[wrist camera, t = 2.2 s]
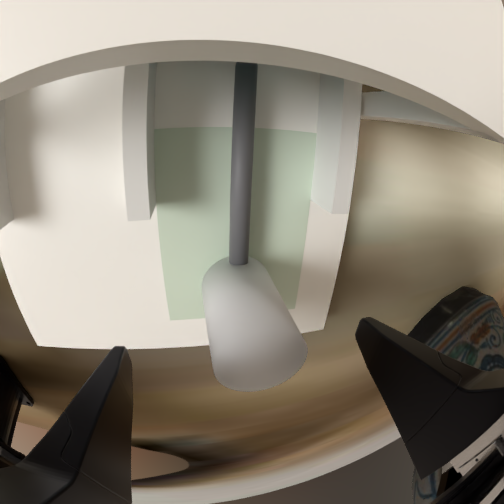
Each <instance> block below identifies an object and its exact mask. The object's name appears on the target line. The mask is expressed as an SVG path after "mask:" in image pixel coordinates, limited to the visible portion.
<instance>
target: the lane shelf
mask: <svg viewBox="0 0 504 504" xmlns="http://www.w3.org/2000/svg"><path fill="white" fill-rule="evenodd" d="M236 62H248V63H257V64H258V71H257V91H256V110H255V130H254V150H253V171H252V192H251V213H250V234H249V256H248V257H252V258H254V259H256V260H258V261H259V262H260V263H262V264H263V266H264V267H265V268H266V270H267V272H268V274H269V275H270V277H271V279H272V281H273V283H274V285H275V286H276V288H277V290H278V292H279V294H280V296H281V298H282V299H283V301H284V303H285V305H286V307H287V309H288V311H289V312H290V314H291V316H292V318H293V320H294V322H295V323H296V325H297V327H298V329H299V331H300V333H305V332H311V331H317V330H322V329H324V325H325V321H326V318H327V314H328V310H329V306H330V302H331V298H332V294H333V290H334V285H335V281H336V277H337V272H338V267H339V263H340V258H341V253H342V248H343V243H344V238H345V232H346V227H347V221H348V215H349V209H350V203H351V196H352V190H353V183H354V175H355V167H356V159H357V150H358V140H359V129H360V119H369V120H382V121H392V122H401V123H409V124H416V125H423V126H429V127H435V128H441V129H446V130H451V131H456V132H461V133H465V134H469V135H474V136H478V137H482V138H485V139H489V140H493V141H496V142H500V143H503V144H504V8H503V4H502V1H501V0H0V257H1V260H2V263H3V266H4V269H5V272H6V275H7V278H8V281H9V283H10V286H11V289H12V291H13V294H14V296H15V299H16V301H17V304H18V306H19V308H20V310H21V313H22V315H23V317H24V319H25V321H26V324H27V326H28V328H29V330H30V332H31V334H32V336H33V338H34V340H35V341H36V343H37V345H38V346H48V347H63V348H85V349H112V348H113V347H114V346H125V347H126V349H149V348H173V347H189V346H202V345H209V340H208V333H207V326H206V319H205V312H204V305H203V297H202V289H201V287H202V280H203V277H204V275H205V273H206V272H207V270H208V269H209V268H210V267H211V266H212V265H213V264H214V263H216V262H217V261H219V260H221V259H223V258H226V257H229V232H230V184H231V151H232V125H233V102H234V82H235V65H236ZM362 84H365V85H368V86H371V87H375V88H378V89H381V90H384V91H379V92H363V93H362Z"/></svg>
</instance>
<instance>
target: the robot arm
mask: <svg viewBox="0 0 504 504" xmlns="http://www.w3.org/2000/svg"><path fill="white" fill-rule="evenodd" d="M355 337H356V340H357V343H358V345H359V348H360V350H361V353H362V355H363V358H364V360H365V363H366V365H367V368H368V370H369V372H370V374H371V376H372V378H373V380H374V382H375V384H376V386H377V387H378V389H379V391H380V393H381V395H382V397H383V399H384V401H385V403H386V405H387V408H388V410H389V412H390V414H391V416H392V418H393V420H394V422H395V424H396V426H397V428H398V430H399V433H400V435H401V437H402V439H403V441H404V443H405V446H406V448H407V450H408V452H409V455H410V457H411V459H412V461H413V464H414V466H415V468H416V471H417V473H418V475H419V477H420V479H421V480H423V479H424V478H426V477H427V476H429V475H430V474H432V473H433V472H435V471H436V470H438V469H439V468H441V467H442V466H444V465H445V464H447V463H448V462H449V461H450V462H451V464H452V465H453V466H452V467H451V468H449V469H448V470H447V471H446V472H444V473H443V474H442V475H441V479H440V483H439V487H438V491H437V494H436V499H435V500H433V501H432V502H431V503H429V504H501V503H503V502H504V369H500V370H495V371H484V370H481V369H478V368H476V367H473V366H471V365H468V364H466V363H463V362H461V361H458V360H456V359H453V358H451V357H449V356H447V355H445V354H443V353H441V352H439V351H437V350H435V349H433V348H431V347H429V346H427V345H425V344H423V343H421V342H419V341H417V340H415V339H413V338H411V337H409V336H407V335H405V334H403V333H401V332H399V331H397V330H395V329H393V328H391V327H389V326H387V325H385V324H383V323H381V322H379V321H377V320H375V319H373V318H372V317H366V318H362V319H361V320H360V322H359V325H358V327H357V330H356V333H355ZM21 404H23V405H28V406H33V404H34V401H33V400H32V399H31V397H30V396H29V395H28V394H27V392H26V391H25V390H24V389H23V387H22V386H21V385H20V383H19V382H18V380H17V379H16V378H15V376H14V375H13V373H12V372H11V370H10V369H9V368H8V366H7V364H6V363H5V361H4V360H3V359H2V358H1V357H0V504H132V493H131V433H132V414H133V388H132V363H131V360H130V357H129V354H128V351H127V349H126V347H125V346H114V347H113V348H112V349H111V351H110V352H109V353H108V354H107V356H106V357H105V358H104V359H103V361H102V362H101V363H100V364H99V366H98V367H97V368H96V370H95V371H94V372H93V373H92V375H91V376H90V377H89V379H88V380H87V381H86V382H85V384H84V385H83V386H82V388H81V389H80V390H79V392H78V393H77V394H76V396H75V397H74V398H73V400H72V401H71V402H70V404H69V405H68V406H67V408H66V409H65V412H63V413H62V414H61V416H60V417H59V419H58V420H57V421H56V422H55V424H54V425H53V426H52V428H51V429H50V430H49V431H48V432H47V434H46V435H45V436H44V437H43V438H42V439H41V441H40V442H39V443H38V444H37V445H36V446H35V447H34V448H33V449H32V451H31V452H30V453H29V454H28V455H27V456H25V455H24V454H22V453H20V452H18V451H16V450H14V449H13V448H11V443H12V438H13V434H14V430H15V426H16V422H17V418H18V414H19V411H20V407H21Z"/></svg>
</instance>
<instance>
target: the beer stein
mask: <svg viewBox="0 0 504 504" xmlns="http://www.w3.org/2000/svg"><path fill="white" fill-rule="evenodd" d="M407 336H409V337H411V338H413V339H415V340H417V341H419V342H421V343H423V344H425V345H427V346H429V347H431V348H433V349H435V350H437V351H439V352H441V353H443V354H445V355H447V356H449V357H451V358H453V359H456V360H458V361H461V362H463V363H466V364H468V365H471V366H473V367H476V368H478V369H481V370H484V371H495V370H500V369H504V318H503V316H502V314H501V311H500V308H499V306H498V303H497V302H496V301H495V300H494V298H493V297H491V296H488V295H485V294H483V293H481V292H479V291H478V290H476V289H474V288H469V287H461V288H460V289H458V290H456V291H455V292H453V293H452V294H450V295H448V296H447V297H445V298H443V299H442V300H441V301H440V302H439V303H438V304H437V305H436V306H435V307H434V308H433V309H432V310H430V311H429V312H428V313H427V314H426V315H425V316H424V317H423V318H422V319H421V320H420V321H419V323H418V324H417V325H416V326H415V327H414V329H413V330H412V331H411V332H410V333H409V334H408V335H407ZM441 475H442V467H441V468H439V469H438V470H436V471H435V472H433V473H432V474H430V475H429V476H427V477H426V478H424V479H423V480H421V479H420V477H419V475H418V473H417V471H416V468H415V467H414V474H413V484H412V495H413V503H414V504H429V503H431V502H432V501H433V500H435V499H436V494H437V491H438V487H439V483H440V479H441ZM501 504H504V502H503V503H501Z"/></svg>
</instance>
